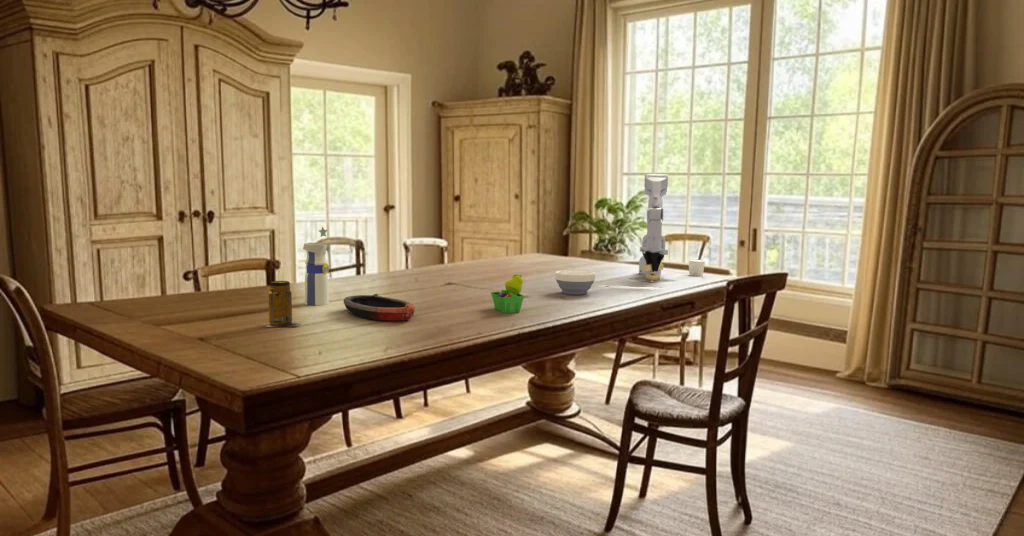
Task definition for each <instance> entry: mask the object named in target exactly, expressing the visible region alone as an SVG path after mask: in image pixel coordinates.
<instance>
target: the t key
mask: <svg viewBox="0 0 1024 536" xmlns="http://www.w3.org/2000/svg"><path fill="white" fill-rule="evenodd" d="M642 270H644V271H651V272H650V274H646V275H645V276H644V277H645V279H646V280H652V281H653V280H660V278H661V277H660V276H661V275H656V274H655V272H654V271H653V266H652V264H643V269H642ZM658 270H661V271H663V270H664V263H662V262H661V263H660V265H659V268H658Z"/></svg>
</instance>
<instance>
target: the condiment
mask: <svg viewBox="0 0 1024 536" xmlns="http://www.w3.org/2000/svg"><path fill="white" fill-rule="evenodd" d="M290 284H291V282H290V281H288V280H273V281H270V282H269V291H268V322H269V323H268V324H267V325H266V326H265V328H283V327H298V326H299V325H301V324H302V321H293V308H292V307H293V305H292V304H293V302H292V300H293V299H292V291H291V287H290V286H291V285H290Z"/></svg>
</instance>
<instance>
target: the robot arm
mask: <svg viewBox="0 0 1024 536" xmlns="http://www.w3.org/2000/svg"><path fill="white" fill-rule="evenodd" d="M668 180H669V175H668V174H667V173H665V174H664V173H663V174H662V173H661V174H660V173H658V174H657V173H656V174H655V173H651V174H650V173H646V174H645V175H644V184H643V185H644V194H645V195H646V196H648V197H649V198H648V200H647V201H648V204H647V205H648V207H647V210H646V226H647V228H646V229H647V230H646V234H645V235H644V236H643V237H642V240H641V241H642V243H641V246H640V247H639V252H640V253H641V254H642V255H641V257H640V258H639V261H638V274H642V275H645V276H646V274H650V272H651V271H644V270H642V269H643V264H652V266H653V271H654V272H655V274H656V275H660V276H662V270H658V268H659V265H660V263H661V264H662V262H663V261H662V260H663V259H664V257H665V256H668V255H669V249H666V238H665V236H664V235H662V232H663V231H662V228H663V221H664V213H665V212H664V207H663V204H664V203H663V197H664V196H666V195H667V192H668V184H669V183H668V182H669V181H668Z"/></svg>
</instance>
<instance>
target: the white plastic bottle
mask: <svg viewBox="0 0 1024 536" xmlns="http://www.w3.org/2000/svg"><path fill="white" fill-rule="evenodd" d="M318 232H319V233H320V237H321V238H323V236H324V237H325V238H326V237H327V235H326V233H327V232H328V230H327V229H325V228H324V226H321V229H320V230H319V229H318ZM302 249H303V250H304V251H306V252H305V253H306V260H305V261H304V264H305V265H306V266H305V267H306V269H305V270H306V273H305V276H304V305H306V306H313V307H314V306H328V305H329V304H330V294H329V275H328V273H329V270H330V266H329V264H328V260H327V258H326V253H327V254H329V252H330V245H329V243H327V242H306V243H304V244H303V246H302Z"/></svg>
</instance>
